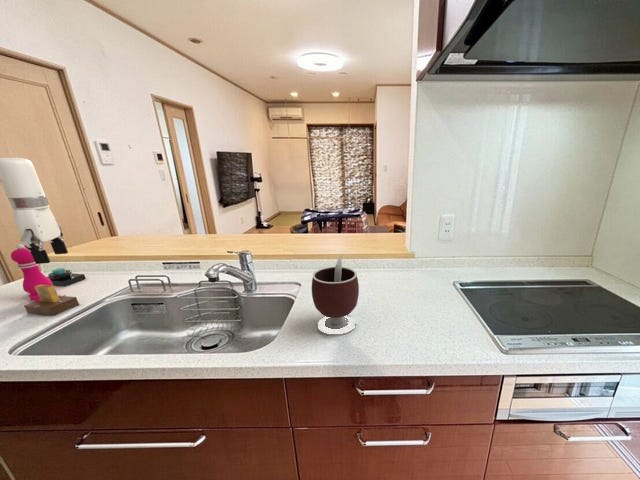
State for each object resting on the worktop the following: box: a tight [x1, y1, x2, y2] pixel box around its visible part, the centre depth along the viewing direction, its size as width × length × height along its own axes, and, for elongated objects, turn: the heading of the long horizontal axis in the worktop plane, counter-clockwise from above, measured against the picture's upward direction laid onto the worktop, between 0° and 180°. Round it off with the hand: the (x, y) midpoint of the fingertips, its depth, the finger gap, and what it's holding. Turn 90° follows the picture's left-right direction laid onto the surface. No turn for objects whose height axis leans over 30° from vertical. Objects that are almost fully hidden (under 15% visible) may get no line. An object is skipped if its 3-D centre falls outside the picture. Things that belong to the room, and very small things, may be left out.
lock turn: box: [35, 285, 60, 303], centre depth 97 cm, size 5×2×6 cm, turn 82°
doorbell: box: [46, 269, 87, 288], centre depth 120 cm, size 12×8×4 cm, turn 82°
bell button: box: [51, 267, 66, 275], centre depth 119 cm, size 4×4×2 cm
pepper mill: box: [10, 243, 53, 302], centre depth 104 cm, size 7×7×20 cm
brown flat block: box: [23, 294, 80, 317], centre depth 99 cm, size 10×9×3 cm
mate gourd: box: [311, 255, 360, 337], centre depth 89 cm, size 16×14×20 cm
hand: (53, 258), depth 93 cm, fingers open, 9 cm apart
